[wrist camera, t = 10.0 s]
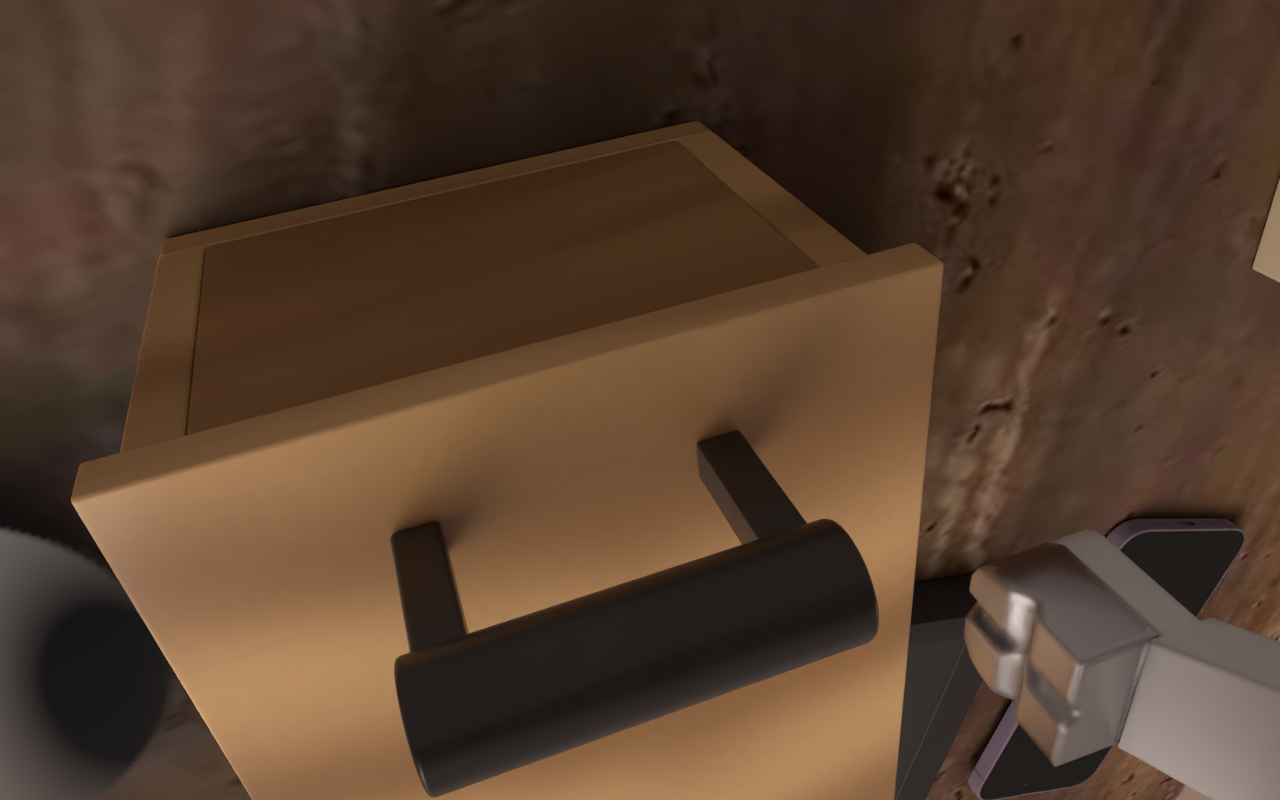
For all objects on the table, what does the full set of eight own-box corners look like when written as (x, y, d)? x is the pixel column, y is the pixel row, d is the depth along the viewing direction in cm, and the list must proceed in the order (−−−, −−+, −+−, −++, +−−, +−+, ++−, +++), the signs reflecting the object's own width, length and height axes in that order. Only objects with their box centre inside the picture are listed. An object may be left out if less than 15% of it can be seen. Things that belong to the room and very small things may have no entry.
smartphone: (1256, 528, 38) (1088, 785, 45) (1233, 511, 39) (1072, 766, 45) (1128, 529, 35) (969, 804, 42) (1107, 511, 36) (954, 783, 43)
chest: (160, 238, 19) (105, 506, 12) (698, 118, 22) (910, 285, 15) (350, 671, 27) (383, 984, 20) (728, 549, 30) (874, 790, 23)
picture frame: (644, 618, 30) (580, 933, 39) (668, 671, 28) (595, 988, 37) (983, 571, 35) (856, 862, 44) (1022, 614, 33) (881, 909, 42)
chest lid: (78, 461, 12) (-2, 770, 8) (915, 240, 14) (1142, 402, 11) (384, 987, 20) (412, 1252, 17) (875, 792, 23) (993, 987, 19)
